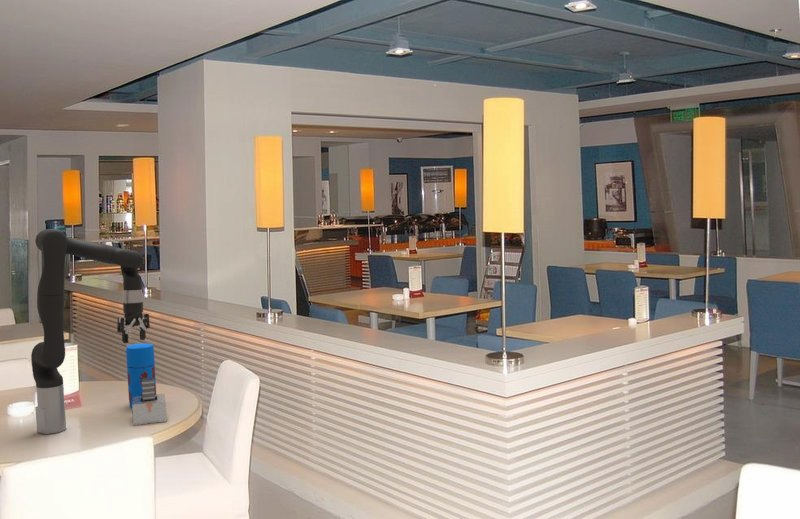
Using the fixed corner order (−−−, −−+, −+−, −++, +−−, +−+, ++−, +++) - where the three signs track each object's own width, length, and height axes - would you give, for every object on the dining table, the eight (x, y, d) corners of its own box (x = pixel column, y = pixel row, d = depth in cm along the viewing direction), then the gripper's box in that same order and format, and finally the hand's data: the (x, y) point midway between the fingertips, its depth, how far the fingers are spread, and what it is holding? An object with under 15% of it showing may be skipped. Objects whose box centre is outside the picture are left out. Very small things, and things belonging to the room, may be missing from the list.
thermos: (161, 402, 329) (157, 343, 327) (150, 409, 319) (147, 348, 316) (136, 401, 330) (132, 343, 328) (124, 409, 320) (121, 348, 317)
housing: (166, 422, 300) (165, 401, 300) (133, 425, 297) (132, 405, 296) (165, 413, 312) (164, 393, 312) (134, 416, 309) (132, 396, 308)
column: (156, 420, 303) (153, 379, 302) (143, 421, 302) (141, 380, 301) (156, 416, 308) (153, 376, 306) (144, 418, 306) (141, 377, 305)
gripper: (140, 298, 320) (141, 338, 321) (111, 302, 307) (113, 343, 309) (153, 299, 316) (154, 339, 317) (125, 303, 304) (126, 345, 305)
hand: (134, 341), depth 313 cm, fingers open, 8 cm apart
